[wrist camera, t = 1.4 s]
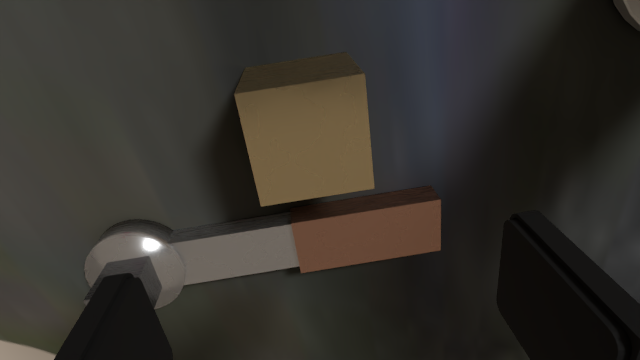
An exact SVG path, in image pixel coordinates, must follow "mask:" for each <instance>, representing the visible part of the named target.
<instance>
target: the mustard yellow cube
mask: <svg viewBox="0 0 640 360" xmlns="http://www.w3.org/2000/svg"><path fill="white" fill-rule="evenodd" d="M234 96H235V100H236V104H237V108H238V112H239V117H240V121H241V125H242V129H243V133H244V138H245V142H246V146H247V150H248V154H249V159H250V163H251V167H252V171H253V175H254V180H255V184H256V188H257V192H258V196H259V200H260V205H261V207H262V206H268V205H274V204H281V203H287V202H293V201H299V200H306V199H312V198H318V197H324V196H330V195H337V194H343V193H349V192H355V191H361V190H368V189H374V178H373V166H372V154H371V142H370V130H369V118H368V106H367V94H366V81H365V73H364V72H363V71H362V70H361V69H360V67H359V66H358V65H357V64H356V63H355V62H354V61H353V59H352V58H351V57H350V56H349V55H348V54H347V53H346V52H343V53H337V54H330V55H324V56H317V57H311V58H305V59H298V60H292V61H285V62H279V63H273V64H266V65H260V66H253V67H247V68H245V69H244V72H243V74H242V76H241V79H240V81H239V84H238V86H237V89H236V91H235V93H234Z"/></svg>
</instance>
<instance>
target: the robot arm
mask: <svg viewBox="0 0 640 360" xmlns="http://www.w3.org/2000/svg"><path fill="white" fill-rule="evenodd" d="M613 2H614V5H615V6H616V8H617V9H618V11H619V12H620V14H621V15H622V17H623V18H624V19H625V20H626V21H627V22H628V23H629V24H630V25H632V26H633V27H634V28H635V29H636V30H638V31H640V0H613ZM497 305H498V308H499V311H500V313H501V315H502V316H503V318H504V319H505V321H506V322H507V324H508V325H509V327H510V329H511V330H512V332H513V333H514V335H515V336H516V338H517V339H518V341H519V343H520V344H521V346H522V347H523V349H524V350H525V352H526V354H527V355H528V357H529V358H530V360H640V304H639V303H638V302H637V301H636V300H635V299H633V298H632V297H631V296H630V295H629V294H628V293H627V292H626V291H625V290H624V289H623V288H622V287H620V286H619V285H618V284H617V283H616V282H615V281H614V280H613V279H612V278H611V277H610V276H609V275H607V274H606V273H605V272H604V271H603V270H602V269H601V268H600V267H599V266H598V265H597V264H595V263H594V262H593V261H592V260H591V259H590V258H589V257H588V256H587V255H586V254H585V253H584V252H582V251H581V250H580V249H579V248H578V247H577V246H576V245H575V244H574V243H573V242H572V241H571V240H569V239H568V238H567V237H566V236H565V235H564V234H563V233H562V232H561V231H560V230H559V229H558V228H556V227H555V226H554V225H553V224H552V223H551V222H550V221H549V220H548V219H547V218H546V217H545V216H543V215H542V214H541V213H540V212H539V211H535V210H534V211H527V212H521V213H514V214H512V215H511V217H510V220H507V221H505V223H504V229H503V239H502V249H501V259H500V269H499V279H498V289H497ZM54 360H173V354H172V349H171V347H170V345H169V342H168V340H167V338H166V335H165V333H164V331H163V329H162V326H161V324H160V322H159V319H158V317H157V315H156V313H155V310H154V308H153V306H152V303H151V301H150V299H149V297H148V294H147V292H146V290H145V287H144V285H143V283H142V281H141V279H140V278H138V277H135V278H134V276H133V275H132V274H131V273H123V274H117V275H110V276H106V277H104V278H103V279H102V281H101V282H100V284H99V286H98V287H97V289H96V291H95V292H94V294H93V296H92V297H91V299H90V301H89V302H88V304H87V306H86V307H85V309H84V311H83V312H82V314H81V316H80V317H79V319H78V320H77V322H76V324H75V325H74V327H73V329H72V330H71V332H70V334H69V335H68V337H67V339H66V340H65V342H64V344H63V345H62V347H61V349H60V350H59V352H58V354H57V355H56V357H55V359H54Z"/></svg>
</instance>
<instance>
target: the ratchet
mask: <svg viewBox="0 0 640 360" xmlns="http://www.w3.org/2000/svg"><path fill="white" fill-rule="evenodd" d="M290 210H291V212H286V213H280V214H274V215H268V216H262V217H255V218H249V219H243V220H237V221H231V222H224V223H218V224H212V225H206V226H199V227H193V228H187V229H181V230H175V231H173V230H172V229H170V228H168V227H166V226H164V225H162V224H160V223H157V222H154V221H149V220H141V219H135V220H127V221H123V222H120V223H117V224H115V225H113V226H111V227H110V228H109V229H107V230H106V231H105V232H104V233H103V235H102V236H101V237H100V239H99V240H98V242H97V243H96V245H95V246H94V247H93V249H92V250H91V252H90V253H89V255H88V257H87V258H86V262H85V268H84V269H85V276H86V279H87V282H88V284H89V285H90V287H91V289H90V291H89V292H88V294H87V296H86V297H85V299H84V300H83V301H84V303H85V305H86V306H87V304H88V302H89V301H90V299H91V297H92V296H93V294H94V292H95V291H96V289H97V287H98V286H99V284H100V282H101V281H102V279H103V278H104V277H106V276H110V275H117V274H123V273H131V274H132V275H133V276H134V278H135V277H138V278H140V279H141V281H142V283H143V285H144V287H145V290H146V292H147V294H148V297H149V299H150V301H151V303H152V306H153V308H154V309H158V308H161V307H163V306H165V305H167V304H169V303H171V302H172V301H173V300H174V299H175V298H176V297H177V296H178V295H179V294H180V292H181V290H182V288H183V285H188V284H194V283H201V282H207V281H213V280H219V279H225V278H231V277H237V276H243V275H250V274H256V273H262V272H268V271H274V270H280V269H286V268H292V267H299V266H300V271H301V273H305V272H312V271H318V270H324V269H330V268H336V267H342V266H348V265H354V264H361V263H367V262H373V261H379V260H385V259H391V258H397V257H403V256H409V255H416V254H422V253H428V252H434V251H440V250H441V199H440V197H439V196H438V195H437V193H436V192H435V190H434V189H433V188H432V186H425V187H418V188H412V189H406V190H400V191H394V192H387V193H381V194H375V195H369V196H362V197H356V198H350V199H344V200H338V201H331V202H325V203H319V204H313V205H307V206H300V207H294V208H290Z"/></svg>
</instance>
